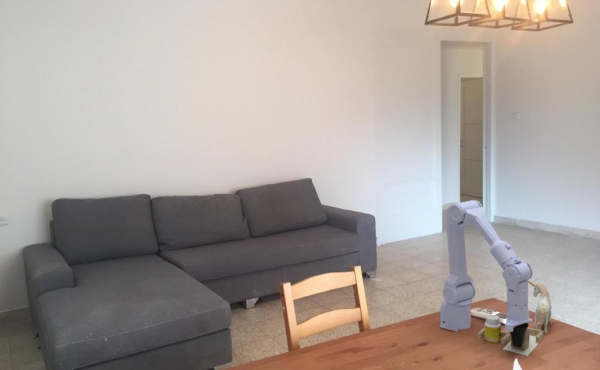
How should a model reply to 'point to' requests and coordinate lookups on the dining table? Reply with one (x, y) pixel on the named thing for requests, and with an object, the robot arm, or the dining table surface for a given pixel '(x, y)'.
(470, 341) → the dining table surface
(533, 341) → the jig board
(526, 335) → the block
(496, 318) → the supplement bottle
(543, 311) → the unicorn figurine
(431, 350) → the dining table surface
